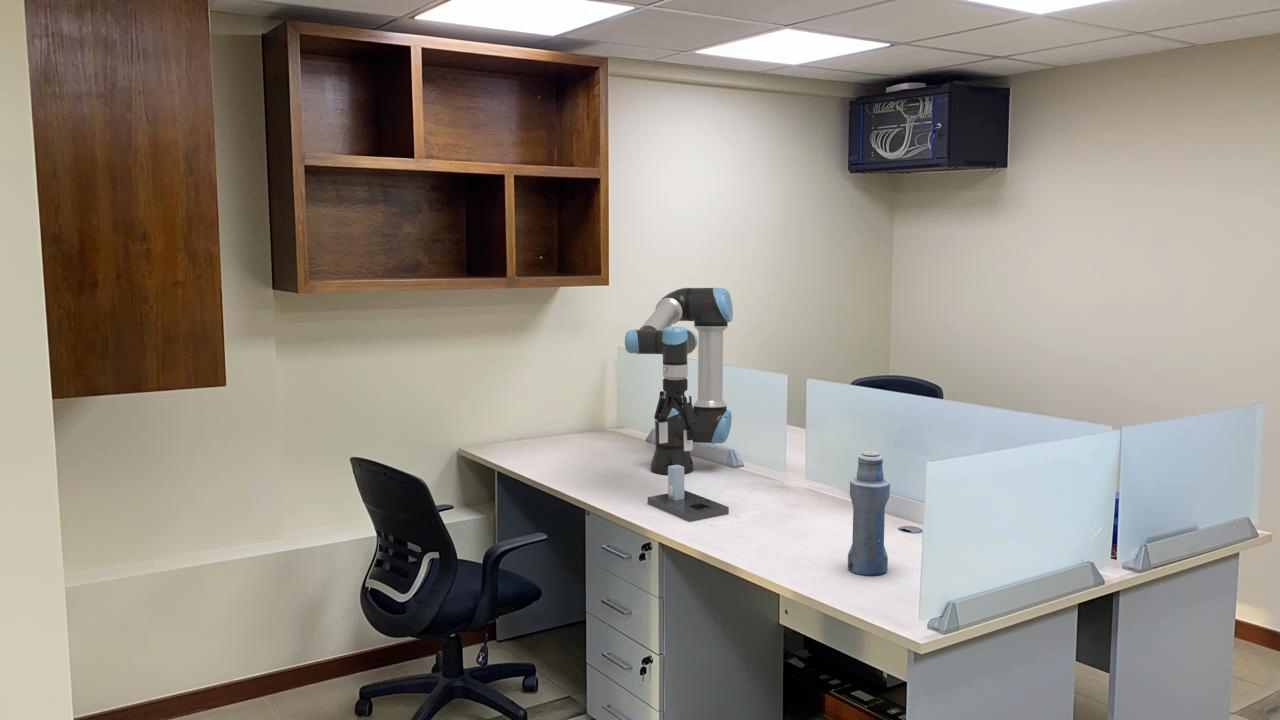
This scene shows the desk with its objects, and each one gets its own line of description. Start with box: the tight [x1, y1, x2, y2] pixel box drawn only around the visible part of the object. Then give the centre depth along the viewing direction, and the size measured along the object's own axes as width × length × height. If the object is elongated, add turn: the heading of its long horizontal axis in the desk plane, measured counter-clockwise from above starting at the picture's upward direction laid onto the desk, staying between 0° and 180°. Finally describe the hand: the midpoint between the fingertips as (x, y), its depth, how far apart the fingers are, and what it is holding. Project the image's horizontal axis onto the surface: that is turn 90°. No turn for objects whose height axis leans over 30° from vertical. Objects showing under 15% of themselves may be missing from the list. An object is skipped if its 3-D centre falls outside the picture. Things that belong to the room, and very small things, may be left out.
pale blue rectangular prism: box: [667, 465, 685, 501], centre depth 306 cm, size 4×4×12 cm
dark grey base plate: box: [647, 489, 730, 523], centre depth 302 cm, size 14×23×3 cm, turn 32°
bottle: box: [847, 450, 891, 576], centre depth 247 cm, size 10×10×30 cm
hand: (675, 446), depth 305 cm, fingers open, 13 cm apart
